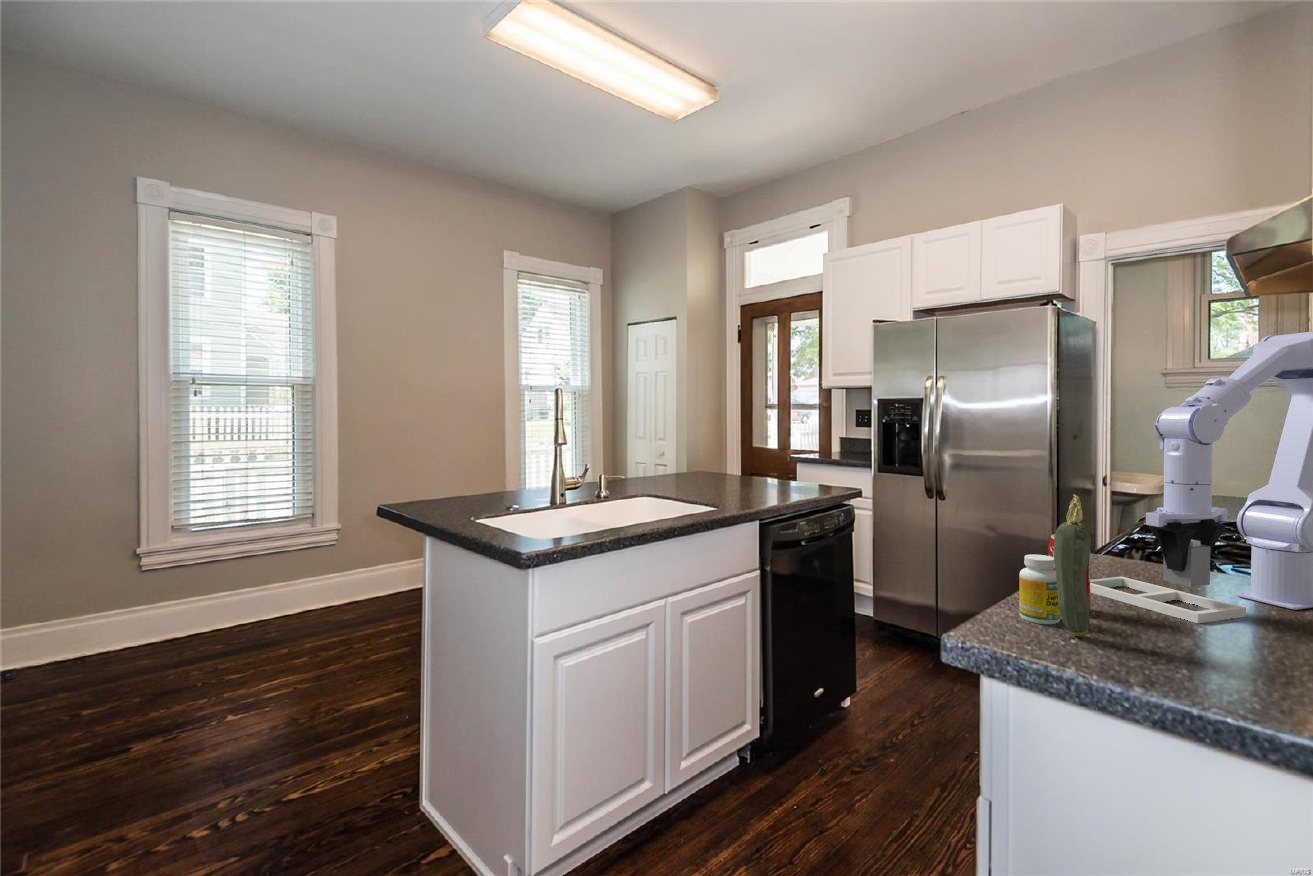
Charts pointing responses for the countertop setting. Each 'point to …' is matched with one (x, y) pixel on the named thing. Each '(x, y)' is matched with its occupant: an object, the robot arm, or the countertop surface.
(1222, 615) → the frame
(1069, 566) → the vegetable
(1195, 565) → the plug
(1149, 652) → the countertop surface
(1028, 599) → the supplement bottle
